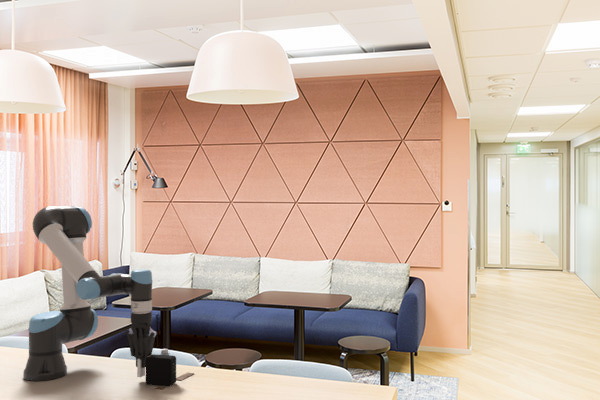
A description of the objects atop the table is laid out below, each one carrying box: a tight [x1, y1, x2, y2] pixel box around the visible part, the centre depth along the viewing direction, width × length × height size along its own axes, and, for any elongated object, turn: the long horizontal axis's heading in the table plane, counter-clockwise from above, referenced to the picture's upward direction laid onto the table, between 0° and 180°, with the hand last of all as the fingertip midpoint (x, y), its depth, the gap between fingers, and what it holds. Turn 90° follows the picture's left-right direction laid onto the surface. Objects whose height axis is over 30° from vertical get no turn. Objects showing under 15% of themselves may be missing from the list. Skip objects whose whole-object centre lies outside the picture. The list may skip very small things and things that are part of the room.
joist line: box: [154, 372, 195, 391], centre depth 205 cm, size 3×20×1 cm, turn 158°
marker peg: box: [159, 348, 170, 355], centre depth 216 cm, size 4×4×9 cm
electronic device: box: [145, 353, 177, 387], centre depth 202 cm, size 4×10×10 cm, turn 77°
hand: (141, 376), depth 205 cm, fingers closed
